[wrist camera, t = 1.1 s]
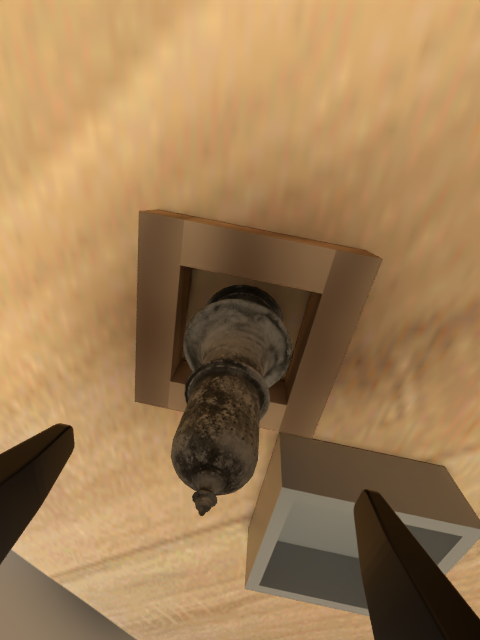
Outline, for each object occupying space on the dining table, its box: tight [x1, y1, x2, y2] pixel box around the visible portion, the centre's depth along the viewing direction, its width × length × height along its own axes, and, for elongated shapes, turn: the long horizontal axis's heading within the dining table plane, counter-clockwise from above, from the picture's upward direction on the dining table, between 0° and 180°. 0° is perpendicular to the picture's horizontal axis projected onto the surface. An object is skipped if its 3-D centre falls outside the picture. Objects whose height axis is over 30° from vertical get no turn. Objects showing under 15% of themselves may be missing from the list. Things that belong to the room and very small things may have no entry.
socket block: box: [135, 210, 382, 439], centre depth 17 cm, size 12×12×2 cm
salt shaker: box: [171, 285, 292, 516], centre depth 13 cm, size 6×6×12 cm
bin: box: [245, 432, 480, 616], centre depth 22 cm, size 13×13×4 cm
